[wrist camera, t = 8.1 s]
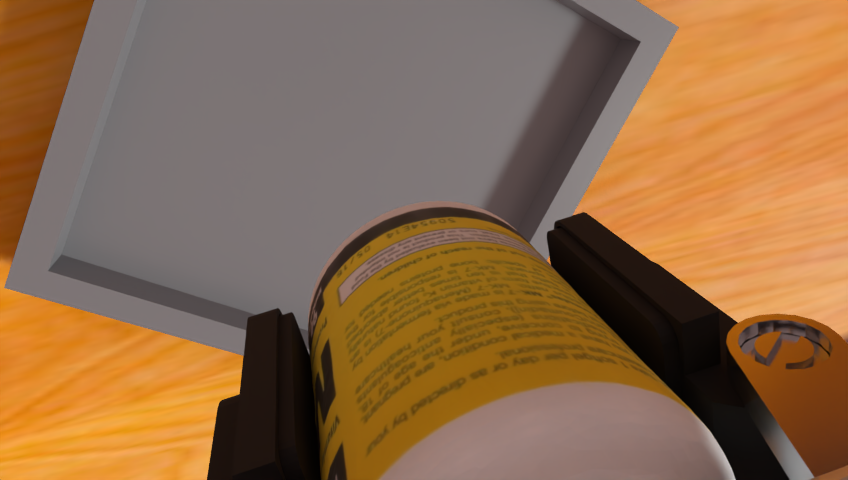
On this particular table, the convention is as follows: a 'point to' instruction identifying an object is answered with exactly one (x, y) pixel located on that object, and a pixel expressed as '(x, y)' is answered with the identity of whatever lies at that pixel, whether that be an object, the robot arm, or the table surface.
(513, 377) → the supplement bottle
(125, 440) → the table surface
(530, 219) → the serving tray
